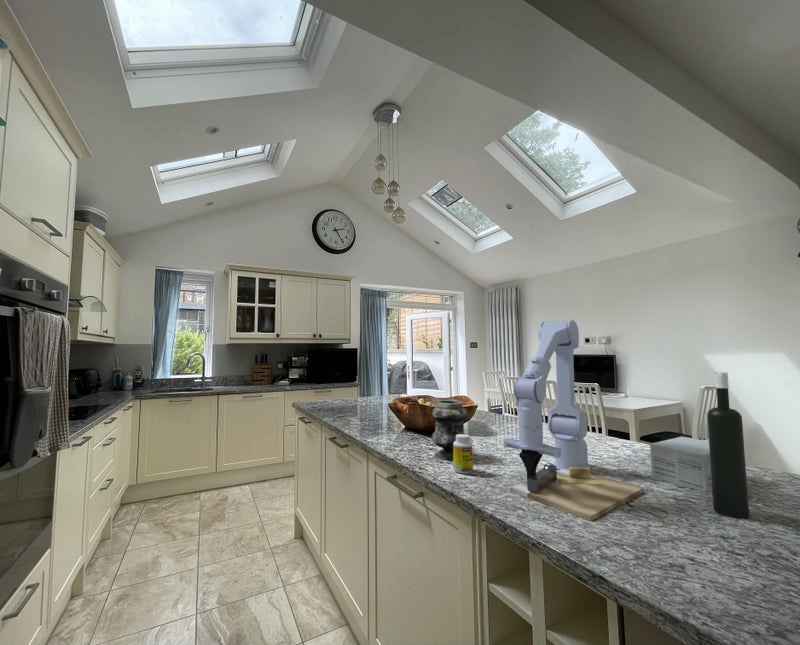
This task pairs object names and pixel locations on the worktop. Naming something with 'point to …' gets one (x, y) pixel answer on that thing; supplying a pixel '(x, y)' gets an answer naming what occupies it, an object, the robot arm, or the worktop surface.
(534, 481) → the swing bar
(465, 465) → the supplement bottle
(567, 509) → the door board
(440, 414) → the dark grey vase
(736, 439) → the wine bottle
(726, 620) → the worktop surface
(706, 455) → the supplement box
